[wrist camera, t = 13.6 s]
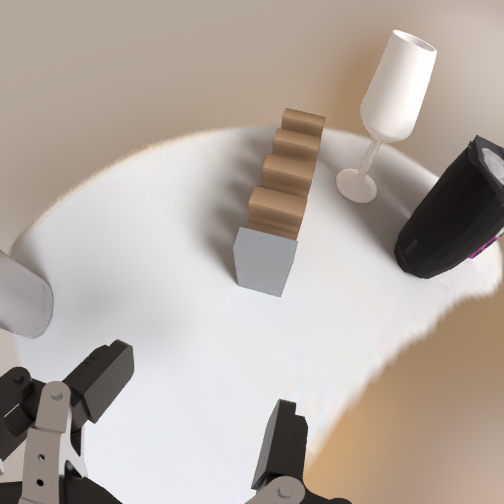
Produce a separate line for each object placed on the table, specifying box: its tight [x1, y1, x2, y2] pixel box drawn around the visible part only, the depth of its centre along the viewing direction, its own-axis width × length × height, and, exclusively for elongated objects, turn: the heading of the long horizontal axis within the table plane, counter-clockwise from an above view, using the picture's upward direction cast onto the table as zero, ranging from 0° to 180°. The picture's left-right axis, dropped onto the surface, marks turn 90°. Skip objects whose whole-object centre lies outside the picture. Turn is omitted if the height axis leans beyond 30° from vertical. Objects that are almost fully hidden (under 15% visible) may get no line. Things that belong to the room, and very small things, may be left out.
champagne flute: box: [336, 30, 437, 203], centre depth 27 cm, size 7×7×24 cm
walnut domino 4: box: [248, 186, 307, 241], centre depth 29 cm, size 2×5×10 cm, turn 73°
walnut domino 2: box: [272, 129, 321, 165], centre depth 33 cm, size 2×5×10 cm, turn 73°
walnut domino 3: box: [261, 154, 315, 199], centre depth 31 cm, size 2×5×10 cm, turn 73°
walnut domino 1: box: [281, 108, 325, 139], centre depth 34 cm, size 2×5×10 cm, turn 73°
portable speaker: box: [394, 135, 504, 279], centre depth 24 cm, size 9×9×20 cm
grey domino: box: [233, 227, 298, 297], centre depth 27 cm, size 2×5×10 cm, turn 74°
